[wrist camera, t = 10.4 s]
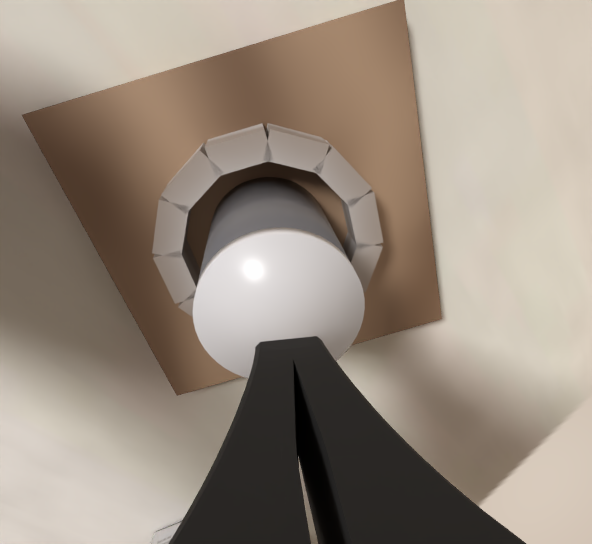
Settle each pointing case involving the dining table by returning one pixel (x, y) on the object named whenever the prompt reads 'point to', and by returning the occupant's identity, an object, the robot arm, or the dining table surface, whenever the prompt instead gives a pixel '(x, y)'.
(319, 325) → the white-capped gray cylinder
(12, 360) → the dining table surface
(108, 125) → the socket board
